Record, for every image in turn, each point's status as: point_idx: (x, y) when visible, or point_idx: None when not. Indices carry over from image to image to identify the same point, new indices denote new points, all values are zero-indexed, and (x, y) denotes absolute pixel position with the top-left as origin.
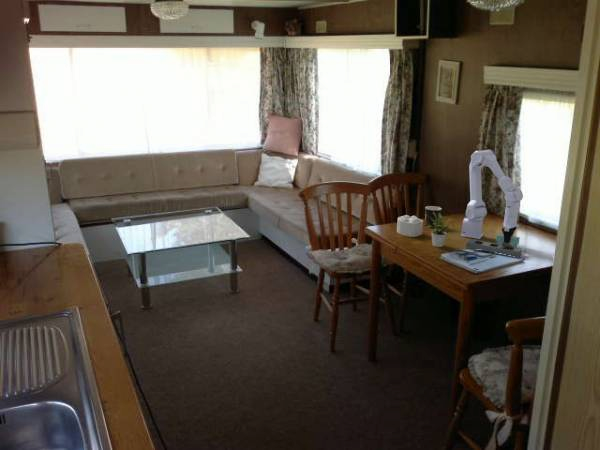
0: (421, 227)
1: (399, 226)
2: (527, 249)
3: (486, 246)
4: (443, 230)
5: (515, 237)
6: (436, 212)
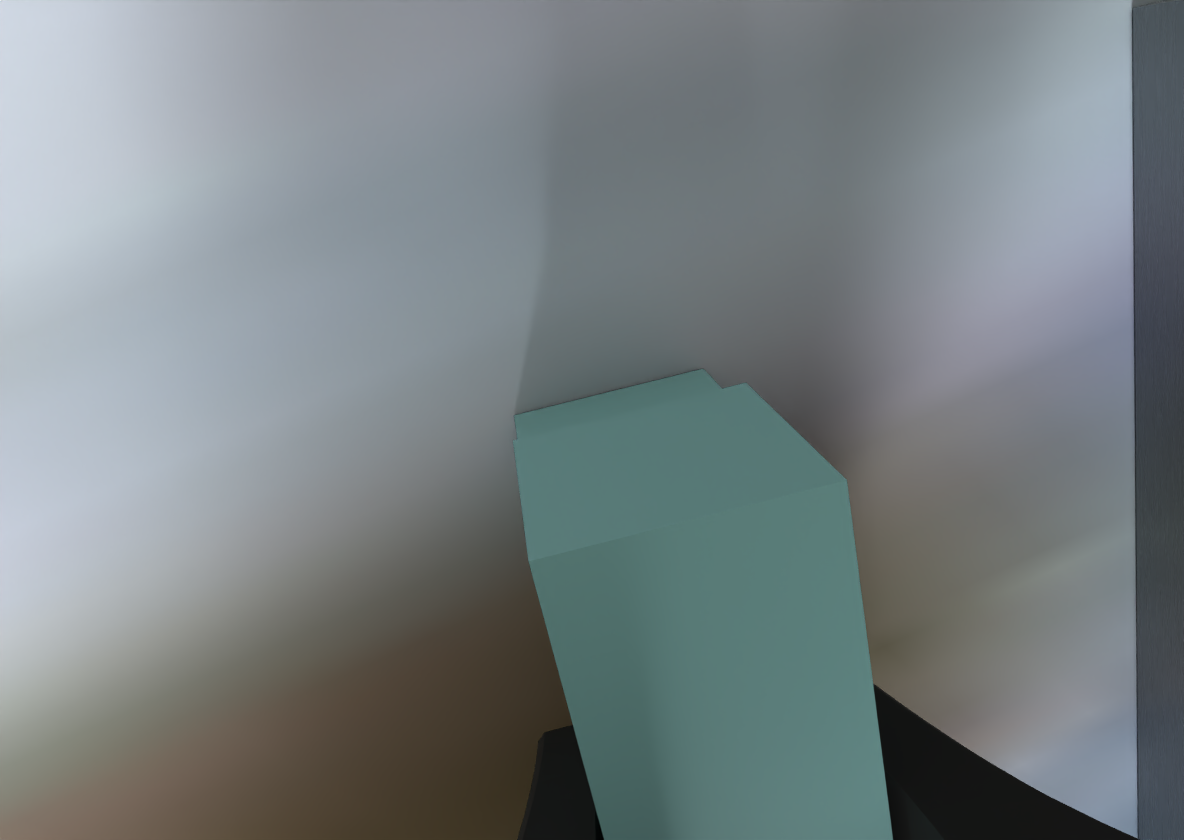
0: None
1: None
2: (403, 76)
3: None
4: None
5: (746, 674)
6: None
